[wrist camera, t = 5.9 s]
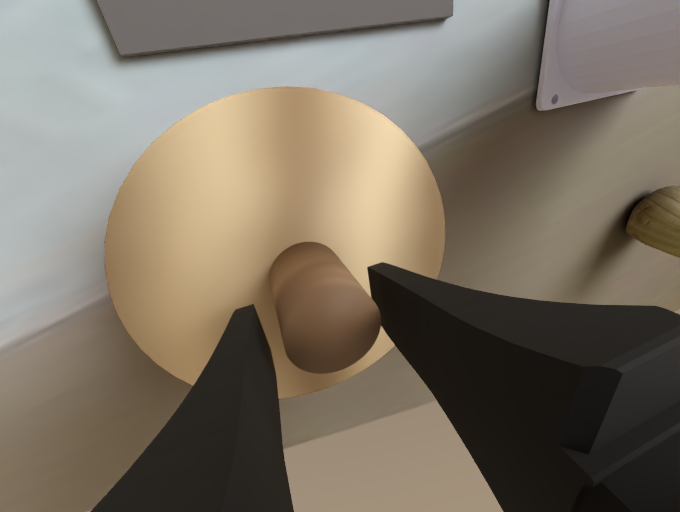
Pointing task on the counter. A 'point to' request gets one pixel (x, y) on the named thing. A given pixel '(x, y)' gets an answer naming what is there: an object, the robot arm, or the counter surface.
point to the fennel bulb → (658, 220)
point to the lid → (271, 232)
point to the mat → (250, 20)
